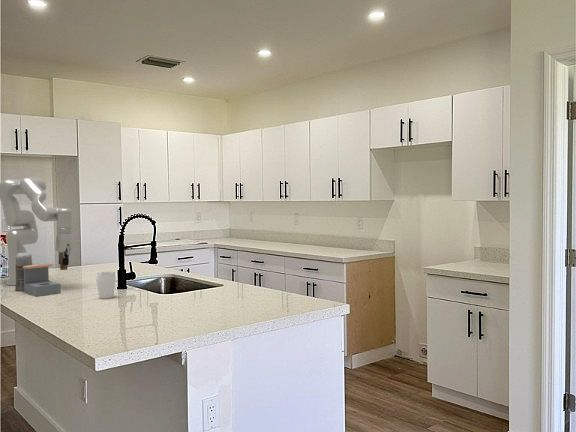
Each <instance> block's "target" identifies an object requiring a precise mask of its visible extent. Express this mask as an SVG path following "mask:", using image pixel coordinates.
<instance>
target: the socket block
mask: <svg viewBox="0 0 576 432" xmlns="http://www.w3.org/2000/svg"><path fill="white" fill-rule="evenodd" d="M50 267H53V264H52V263H41V264H39V263H38V264H32V265H28V266H23V268H24V292H23V293H24V294H28V295H31V296H33V297H36V298H37V297H44V295H45V296H51V295H50V294H52V295H58V294H57V293H59V294H61V283H59V282H55V281H51V280H50V279H49V278H50V277H49V276H50V275H49V268H50Z"/></svg>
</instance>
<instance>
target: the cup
mask: <svg viewBox="0 0 576 432" xmlns="http://www.w3.org/2000/svg"><path fill="white" fill-rule="evenodd" d="M116 278H117V277H116V272H114V271H103V272H98V273H96V279H95V280H96V285H97V292H98V297H99V298H100V299H111V298H113V297H115V296H114V295H115V287H116Z"/></svg>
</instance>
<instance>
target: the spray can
mask: <svg viewBox="0 0 576 432" xmlns="http://www.w3.org/2000/svg"><path fill="white" fill-rule="evenodd" d="M28 265H33V259H32V253H30V252H28V251H27V252H26V253H18V254H17V255H16V267H15V268H16V285H15V291H18V292H21V291H22V292H23V291H24V268H23V266H28Z"/></svg>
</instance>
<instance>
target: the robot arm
mask: <svg viewBox="0 0 576 432" xmlns="http://www.w3.org/2000/svg"><path fill="white" fill-rule="evenodd" d="M46 189H47V183H46V181H45V180H44V179H43V178H41V177H23V178H21V179H15V178H14V179H11V178H9V179H4V180H1V181H0V202H1V206H2V211H3V215H4V220H5V223H6V225H7V226H8V227H11V228H14V229H10V230H8V231H7V232H6V235H5V241H6V244H7V251H8V252H7V255H8V256H7V257H8V281H6V282H5V285H6V286H16V268H15V267H16V255H17V254H18V253H26V252H28V251H27V249H26V247H25V245H32V244H35V243H37V242H38V239H39V232H38V226H37V221H36V218H35V217H37V219H39V220H40V221H41V222H56V238H55V251H56V252H58V264H59V265H60V252H62V253H63V258H62V265H67V266H68V265H69V264H70V260H69V258H70V254H71V252H72V231H73V229H72V228H73V227H72V226H73V225H72V224H73V222H72V221H73V220H72V219H73V215H72V213H73V212H72V211H73V210H72V209H71V208H67V207H65V208H62V207H55V206H54V207H45V206H44V205H43V204H42V203H44V202H45V201H46V199H47V193H46V192H45V191H46ZM15 195H25V196H26V197H27V198H28V199H29V200H30V201H31V204H30V205H31V211H30V210H26V209H21V207H20V203H19V201H18V199H17V198H16V197H15ZM17 227H18V228H17ZM19 227H21V228H19ZM22 227H23V228H22ZM65 251H67V252H65ZM65 253H66V254H65Z"/></svg>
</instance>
